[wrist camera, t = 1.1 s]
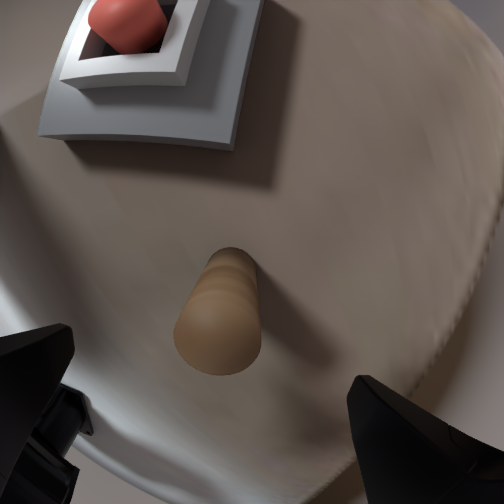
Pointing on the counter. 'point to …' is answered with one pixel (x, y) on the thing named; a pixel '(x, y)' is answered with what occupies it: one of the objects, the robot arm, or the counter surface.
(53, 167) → the counter surface
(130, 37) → the plunger
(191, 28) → the button box
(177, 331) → the tapered wooden peg
